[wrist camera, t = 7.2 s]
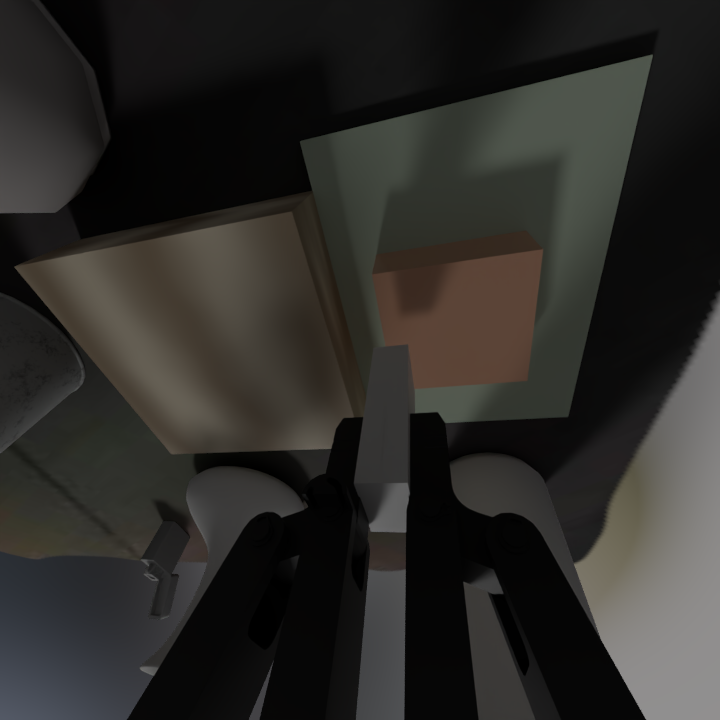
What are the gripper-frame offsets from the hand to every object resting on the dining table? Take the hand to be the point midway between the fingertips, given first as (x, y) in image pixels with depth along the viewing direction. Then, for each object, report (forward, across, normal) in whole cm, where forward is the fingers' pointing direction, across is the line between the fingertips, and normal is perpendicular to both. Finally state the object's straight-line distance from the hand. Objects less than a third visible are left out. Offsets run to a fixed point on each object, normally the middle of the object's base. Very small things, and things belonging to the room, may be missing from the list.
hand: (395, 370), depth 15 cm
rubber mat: (+5, +4, 0) cm, 6 cm away
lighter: (+6, -31, -28) cm, 42 cm away
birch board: (+5, -10, 0) cm, 11 cm away
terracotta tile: (+5, +3, 0) cm, 6 cm away
